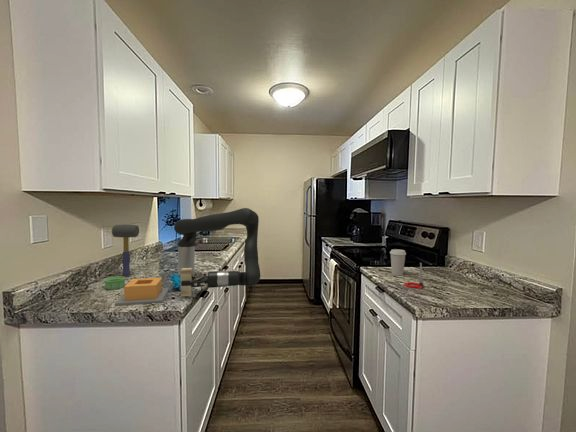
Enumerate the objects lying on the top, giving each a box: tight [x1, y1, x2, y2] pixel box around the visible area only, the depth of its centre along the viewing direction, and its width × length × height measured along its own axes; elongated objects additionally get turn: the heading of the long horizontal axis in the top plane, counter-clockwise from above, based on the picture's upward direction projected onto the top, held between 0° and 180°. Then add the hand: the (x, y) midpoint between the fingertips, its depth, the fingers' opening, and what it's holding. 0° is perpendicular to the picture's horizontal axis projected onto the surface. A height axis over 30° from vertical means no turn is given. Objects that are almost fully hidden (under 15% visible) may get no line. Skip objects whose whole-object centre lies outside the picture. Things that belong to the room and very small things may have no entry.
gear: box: [169, 273, 181, 291], centre depth 138 cm, size 11×6×10 cm
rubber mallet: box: [111, 224, 140, 278], centre depth 159 cm, size 12×8×30 cm, turn 98°
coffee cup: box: [389, 248, 407, 276], centre depth 173 cm, size 10×10×15 cm
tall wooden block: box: [180, 268, 193, 297], centre depth 129 cm, size 4×4×12 cm
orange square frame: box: [114, 277, 170, 307], centre depth 125 cm, size 18×18×7 cm
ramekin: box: [104, 275, 126, 290], centre depth 139 cm, size 9×9×4 cm
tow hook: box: [403, 262, 425, 290], centre depth 148 cm, size 8×13×9 cm
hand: (182, 280), depth 129 cm, fingers open, 8 cm apart
